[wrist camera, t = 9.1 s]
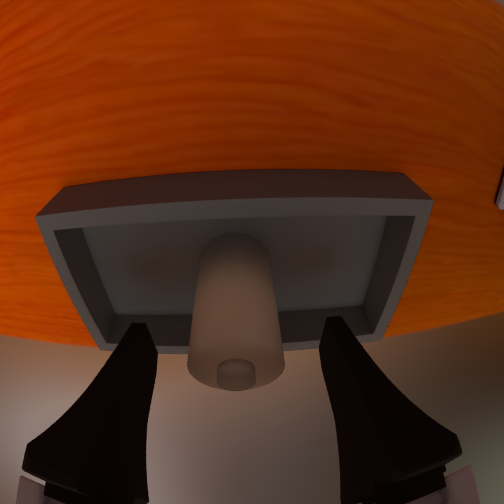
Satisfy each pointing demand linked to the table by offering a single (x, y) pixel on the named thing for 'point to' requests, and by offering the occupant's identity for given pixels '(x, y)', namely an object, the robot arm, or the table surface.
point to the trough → (246, 222)
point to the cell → (235, 316)
